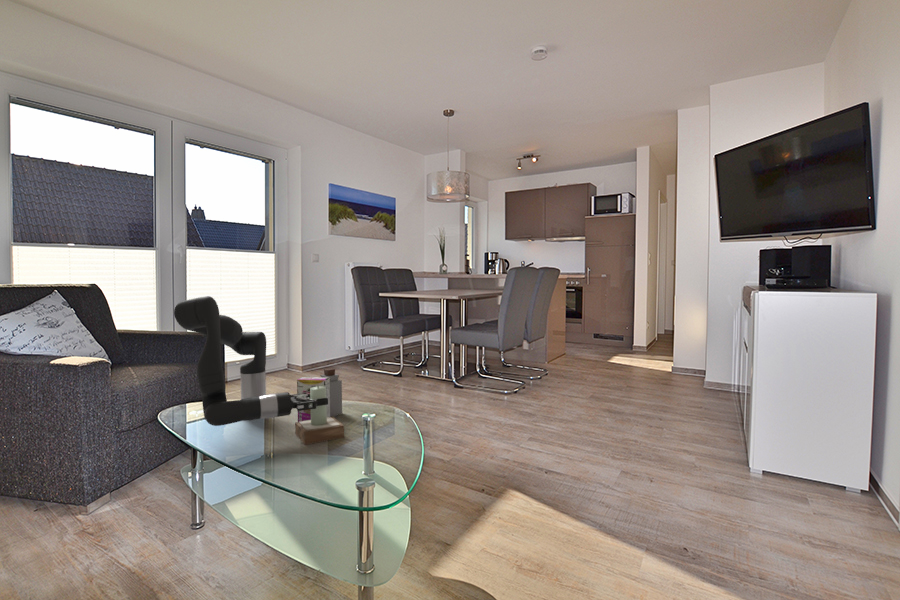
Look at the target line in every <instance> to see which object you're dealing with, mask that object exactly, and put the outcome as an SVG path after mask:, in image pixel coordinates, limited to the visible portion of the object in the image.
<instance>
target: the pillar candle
mask: <svg viewBox="0 0 900 600" xmlns="http://www.w3.org/2000/svg"><path fill="white" fill-rule="evenodd" d="M321 398H326V387H323V386H318V387H312V388H310V399H321ZM310 404H311V405H312V403H310ZM326 423H327V409H326V405H322V406H317V407H316V409H311V425H323V424H326Z"/></svg>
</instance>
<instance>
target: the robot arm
mask: <svg viewBox="0 0 900 600" xmlns="http://www.w3.org/2000/svg"><path fill="white" fill-rule="evenodd" d="M219 309H220V308H219V305H218V302H217V301H216V300H215V298H213V296H210V295H207V296H199V297H196V298H195V297H194V298H191V299H190V298H189V299H185V300H183V301H180V302H178V303H177V304H176V305H175V307H174V309H173V316H174V318H175V320H176V322H177V323H178V325H179V326H180V327H181V328H183V329H185V330H187V331H190V332H194V333H198V334H201V335H203V336H205V337H206V339H205V343H204V346H203V349H202V352H201V354H200V356H199V359H198V362H197V363H196V364H197V366H196V374H197V382H198V385H199V391H200V394H201V401H202V411H203V417H204V420H205V421H206V422H207V423H208V424H209V425H210V426H213V427H217V426H218V427H219V426H226V425H229V424H235V423H239V422H244V421H245V422H248V421H254V420H260V419H271V418H279V417H285V416H290V415H291V413H292V410H293V409H295V410H297V412H298V411H302V410H310V409H316V407H317V406H322V405H327V404H328V398H321V399H310V395H309V394H308V393H307V394H306V393H300V394H297V393H293V394H291V393H290V392H288V391H284V392H283V391H282V392H276V393H269V394H267V381H266V379H267V378H266V365H267V337H266V334H265V333H264V332H262V331H243V328H242V325H241V324H240V322H238V321H237V320H235V319H234V318H232V317H230V316H228V315H225V314H223V315H222V314H220V310H219ZM221 345H225V346H226V347H228V348H230V349H232V350H233V351H234V352H235V353H236V354H238V355H240V356H254V357H253V360H251V361H249V362H247V363H244V364H242V365H241V366H240V368H239V370H240V371H239V373H240V375H239V376H240V377H239V378H240V399H237V400H228V399H227V394H226V380H225V379H226V378H225V375H224V370H223V362H222V348H221ZM310 403H312V405H311V404H310Z"/></svg>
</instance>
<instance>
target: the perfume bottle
mask: <svg viewBox="0 0 900 600" xmlns="http://www.w3.org/2000/svg"><path fill="white" fill-rule="evenodd" d="M323 372H324V374H320V375H319V376H320V377H327V378H330V417H331V416H333V417H335V416H336V417H337V416H339V415H338V414H341V413H342V414H343V387H342V385H343V383H342V382H343V381H342V380H341V379H339V377H340V374H337V373H336V369H335V368H330V367H329V368H325V369H323ZM342 414H341V415H342Z"/></svg>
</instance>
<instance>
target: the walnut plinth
mask: <svg viewBox="0 0 900 600" xmlns="http://www.w3.org/2000/svg"><path fill="white" fill-rule="evenodd" d="M294 425H295V426H294V428H295V430H294V432H295V435H296V437H297V438H298V439H299V440H300V441H301V442H302V444H304V446H305V445H311V444H315V443H321V442H327V441H331V440H332V441H333V440H337V439H343V438H345V425H344V424H343V423H342V422H340V421H339V420H338V419H336V418H335V416H331V417H327V423H326V424H323V425H311V420H307V421H300V422H298V421H296V422H294Z"/></svg>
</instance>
